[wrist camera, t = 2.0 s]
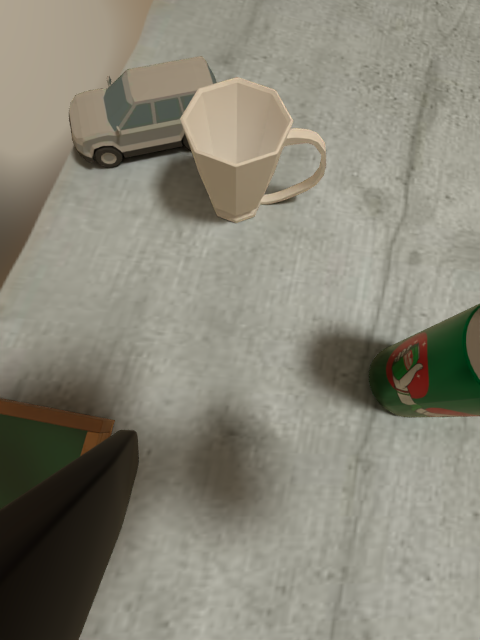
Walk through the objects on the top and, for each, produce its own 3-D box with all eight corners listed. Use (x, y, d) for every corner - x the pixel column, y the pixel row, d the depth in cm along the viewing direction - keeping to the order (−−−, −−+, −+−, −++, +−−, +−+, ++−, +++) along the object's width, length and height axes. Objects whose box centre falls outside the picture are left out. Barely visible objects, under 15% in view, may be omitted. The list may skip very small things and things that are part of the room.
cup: (196, 165, 30) (182, 74, 22) (310, 167, 30) (337, 78, 22) (192, 236, 28) (176, 164, 20) (314, 238, 28) (346, 168, 20)
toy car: (77, 124, 31) (48, 69, 26) (215, 98, 32) (212, 41, 27) (85, 176, 29) (56, 128, 24) (230, 147, 30) (229, 95, 25)
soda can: (448, 379, 25) (637, 344, 13) (408, 433, 24) (576, 445, 12) (392, 333, 26) (522, 262, 14) (351, 382, 24) (455, 349, 13)
